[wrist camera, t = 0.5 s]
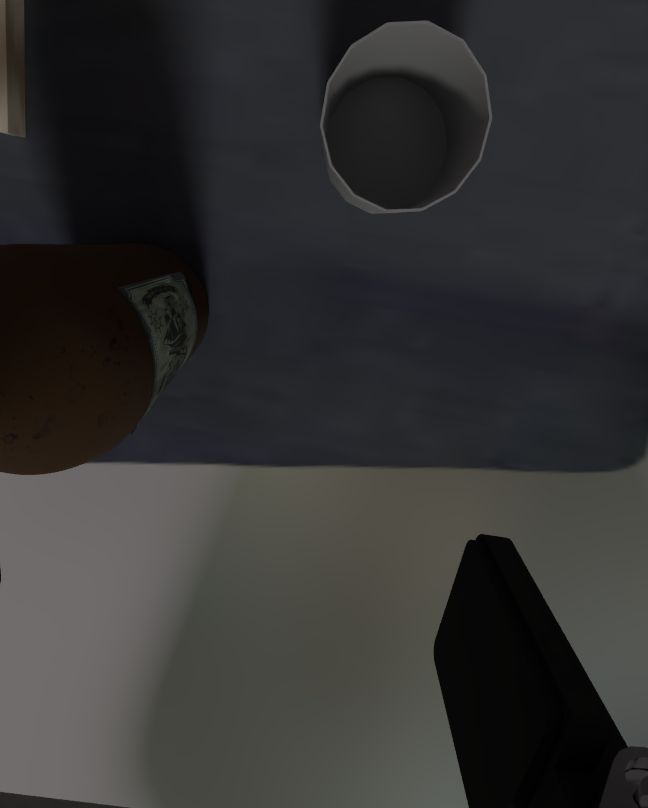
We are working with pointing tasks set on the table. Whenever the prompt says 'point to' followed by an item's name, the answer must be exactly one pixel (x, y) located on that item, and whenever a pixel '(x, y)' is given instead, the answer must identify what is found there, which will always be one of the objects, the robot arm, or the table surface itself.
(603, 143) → the table surface
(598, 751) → the robot arm
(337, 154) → the cup
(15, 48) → the stool seat
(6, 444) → the olive oil
